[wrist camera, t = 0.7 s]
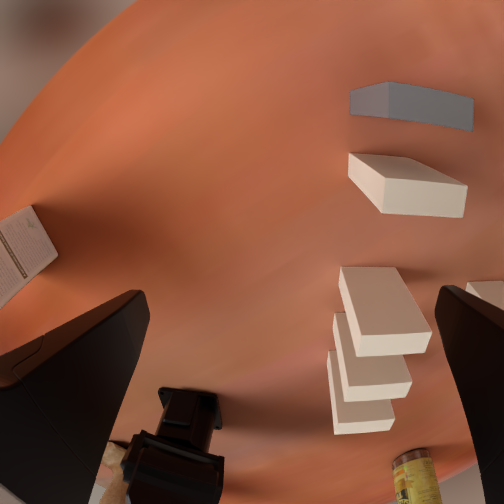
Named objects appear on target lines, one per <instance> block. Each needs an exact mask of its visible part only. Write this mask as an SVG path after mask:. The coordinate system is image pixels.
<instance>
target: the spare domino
mask: <svg viewBox="0 0 504 504" xmlns="http://www.w3.org/2000/svg"><path fill="white" fill-rule="evenodd" d="M465 291H467V292H469V293H471V294H473V295H475V296H477V297H479V298H481V299H483V300H485V301H487V302H489V303H491V304H493V305H495V306H497V307H499V308H500V309H502V310H504V282H503V281H476V282H468V283H467V286H466V290H465Z"/></svg>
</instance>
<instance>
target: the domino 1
mask: <svg viewBox="0 0 504 504" xmlns="http://www.w3.org/2000/svg"><path fill="white" fill-rule="evenodd" d="M327 369H328V377H329V386H330V395H331V405H332V415H333V425H334V435H336V434H354V433H366V432H377V431H386V430H390V428H391V426H392V424H393V422H394V420H395V416H394V412H393V408H392V404H391V400H390V399H383V400H370V401H354V402H344V396H343V389H342V382H341V376H340V369H339V363H338V357H337V351H336V350H332V351H329V353H328V359H327Z"/></svg>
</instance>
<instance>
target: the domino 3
mask: <svg viewBox="0 0 504 504" xmlns="http://www.w3.org/2000/svg"><path fill="white" fill-rule="evenodd" d="M339 289H340V293H341V296H342V300H343V304H344V308H345V312H346V315H347V319H348V323H349V327H350V331H351V336H352V340H353V344H354V348H355V352H356V357H365V356H386V355H401V354H414V353H425V350H426V348H427V345H428V342H429V340H430V337H431V334H432V330H431V329H430V327H429V325H428V323H427V321H426V319H425V318H424V316H423V314H422V312H421V310H420V309H419V307H418V305H417V303H416V302H415V300H414V298H413V296H412V295H411V293H410V291H409V290H408V288H407V286H406V284H405V283H404V281H403V279H402V278H401V276H400V274H399V273H398V271H397V270H396V268H395V267H341V268H340V277H339Z"/></svg>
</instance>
